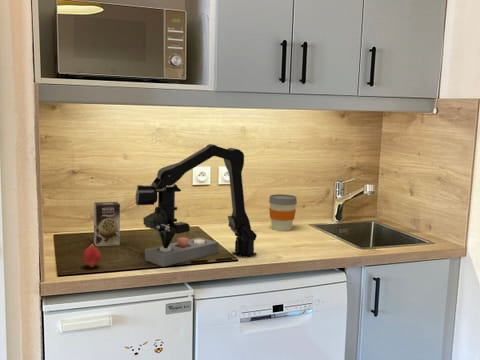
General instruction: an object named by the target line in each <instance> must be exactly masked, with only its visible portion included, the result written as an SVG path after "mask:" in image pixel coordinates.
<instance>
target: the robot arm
mask: <svg viewBox="0 0 480 360" xmlns="http://www.w3.org/2000/svg"><path fill="white" fill-rule="evenodd" d="M213 157H217V158H221V159H223V162H224V165H225V168H226V170H227V172H228V177H229V185H230V186H229V189H230V196H231V206H232V211H231V212H232V213H231V215H227V220H228V225H227V227H229V228H230V230H231V231H232V232H233V233H234V236H236V237H235V243H234V244H235V246H234V251H233V252H232V254H233V255H235V256H239V257H242V258H249V257H251V256H255V255H257V253H256V252H254V249H255V241H256V239H257V238H258V237H257V236H258V235H257V234H256V233H255V232H254V230H252V226H251V222H250V219H249V216H248V214H247V212H246V207H245V196H244V187H243V175H242V171H243V169H244V164H245V155H244V152H243V151H242V150H241V149H238V148H233V147H228V148H224V147H220V146H218V145H217V144H213V143H208V144H206V146H205V147H203V148H202V149H200V150H198V151H196V152H194V153H192V154H191V155H188V156H187V157H186V158H184V159H182V160H180V161H179V162H177V163H172V164H169V165H167V166H164V167H162V168H159V170H158V171H157V174H156V178H154V180H153V181H152V183H151V184H149V185H141V184H138V185H137V186H136V187H137V188H136V190H135V191H136V193H135V204H136V206H153V205H155V204H156V203H157V206H155V207H154V212H153V213H150V214H148V215H145V217H143V225H144V226H145V228H149V229H150V230H154V231H156V232H157V233H158V235H159V237H160V240H161V243H162V245H163V247H164V248H168V246H169V244H171V242H172V240H173V238H174V237H175V235H178V234H183V233H188V232H190V230H191V226H190V224H189V223H187V222H184V221H178V218H175V215H176V214H175V211H178V206H176V205H175V204H176V202H175V201H176V193H177V192H179V193H180V192H181V191H182V189H181V188H179V186H178V185H177V184H176V183H177V182H178V181H179V180H180V179H181V178H182V177H183V176H184V175H186V173H187V172H189V171H191V170H193V169H194V168H196V167H198V166H199V165H202V163H205V162H206V161H208V160H209V159H211V158H213Z"/></svg>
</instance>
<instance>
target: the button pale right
mask: <svg viewBox="0 0 480 360" xmlns="http://www.w3.org/2000/svg"><path fill="white" fill-rule="evenodd" d="M194 243H196V244H202V243H205V240H202V239H196V240H194Z"/></svg>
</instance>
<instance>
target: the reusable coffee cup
mask: <svg viewBox="0 0 480 360" xmlns="http://www.w3.org/2000/svg"><path fill="white" fill-rule="evenodd" d="M297 199H298V198H297V196H295V195H292V194H275V193H274V194H271V195H270V196H269V199H268V200H269V201H268V202H269V218H270V223H271V229H272V230H273V231H277V232H290V231H292V230H293V229H292V227H293V221H294V220H295V217H296V211H297V209H296V206H297Z"/></svg>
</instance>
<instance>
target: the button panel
mask: <svg viewBox="0 0 480 360" xmlns="http://www.w3.org/2000/svg"><path fill="white" fill-rule="evenodd" d="M196 239H202V240H205V243H202V244H196V243H194V240H196ZM160 247H163V244H162V245H157V246H154V247H149V248H145V250H144V261H146V262H150V263H152V264H155V265H158V266H160V267H162V268H163V267H164V268H165V267H169V266H171V265H172V266H173V265H175V264H179V263H184V262H187V261H192V260H195V259H199V257H200V258H202V257H203V256H204V257H207V255H208V256H212V255H215V254H219V241H214V240H212V239H211V240H210V239H207V238H204V237H195V238H194V237H193V238H191V239H189V246H188V247H185V248H180V247H177V242H172V243H171V242H170V244H169V246H168V247H171V251H167V252H163V251H160Z"/></svg>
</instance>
